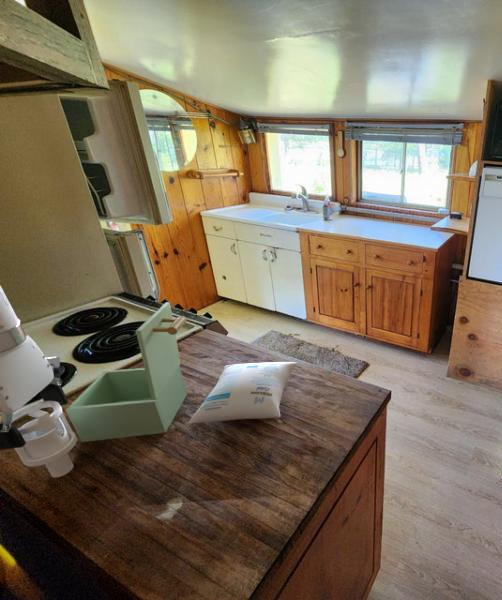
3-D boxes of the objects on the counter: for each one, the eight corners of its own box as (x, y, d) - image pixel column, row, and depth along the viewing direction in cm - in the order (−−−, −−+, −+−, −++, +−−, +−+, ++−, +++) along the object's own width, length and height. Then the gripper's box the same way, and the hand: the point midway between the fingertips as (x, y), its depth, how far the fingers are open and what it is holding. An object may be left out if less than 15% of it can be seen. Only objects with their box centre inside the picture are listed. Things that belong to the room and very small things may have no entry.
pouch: (222, 352, 85) (183, 404, 67) (297, 353, 87) (279, 403, 69) (226, 377, 88) (190, 434, 70) (298, 377, 90) (281, 431, 72)
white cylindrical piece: (54, 492, 58) (16, 429, 51) (25, 481, 59) (-15, 420, 53) (96, 459, 64) (67, 400, 58) (70, 450, 65) (38, 392, 59)
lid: (135, 330, 60) (167, 331, 61) (165, 301, 71) (191, 302, 72) (151, 400, 66) (179, 399, 68) (176, 363, 78) (200, 363, 79)
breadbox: (81, 442, 67) (65, 410, 64) (116, 400, 79) (104, 370, 75) (165, 432, 70) (154, 401, 67) (187, 393, 82) (179, 365, 78)
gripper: (8, 316, 56) (50, 393, 64) (-111, 378, 41) (-39, 471, 48) (59, 313, 58) (94, 389, 65) (-38, 373, 43) (21, 463, 50)
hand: (37, 424), depth 57 cm, fingers open, 9 cm apart
